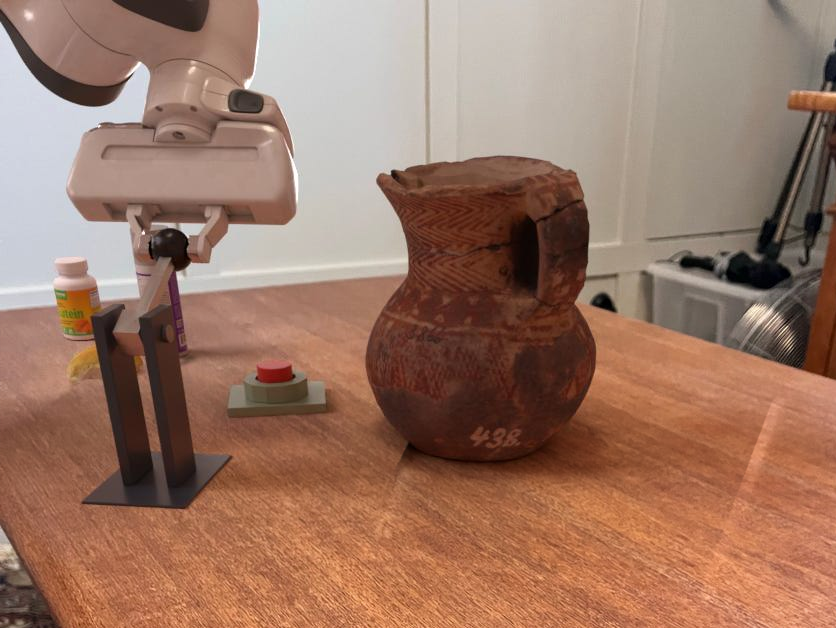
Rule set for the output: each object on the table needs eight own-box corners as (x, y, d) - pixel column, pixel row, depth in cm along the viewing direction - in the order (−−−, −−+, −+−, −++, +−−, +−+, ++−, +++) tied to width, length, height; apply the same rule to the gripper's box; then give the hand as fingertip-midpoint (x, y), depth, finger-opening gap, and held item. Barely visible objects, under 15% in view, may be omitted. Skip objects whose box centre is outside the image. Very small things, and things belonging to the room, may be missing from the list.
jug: (333, 461, 96) (310, 173, 83) (419, 396, 113) (411, 148, 100) (557, 492, 90) (570, 186, 77) (613, 418, 107) (631, 157, 94)
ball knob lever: (164, 254, 91) (151, 218, 88) (203, 255, 91) (191, 219, 88) (116, 361, 84) (100, 325, 81) (158, 362, 83) (144, 326, 80)
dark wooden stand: (141, 465, 95) (109, 292, 87) (234, 469, 94) (210, 295, 86) (84, 517, 85) (42, 327, 77) (187, 523, 84) (155, 330, 76)
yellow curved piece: (148, 366, 123) (143, 333, 121) (136, 389, 116) (129, 353, 114) (78, 368, 123) (71, 335, 120) (61, 391, 115) (53, 356, 113)
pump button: (257, 386, 104) (255, 369, 104) (258, 376, 108) (256, 360, 107) (293, 385, 105) (291, 368, 104) (293, 375, 108) (291, 358, 107)
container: (171, 346, 131) (152, 223, 123) (195, 352, 129) (177, 226, 121) (142, 355, 128) (120, 228, 120) (166, 361, 125) (145, 232, 118)
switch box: (229, 429, 104) (224, 391, 102) (233, 404, 111) (228, 368, 109) (327, 423, 105) (324, 386, 103) (325, 400, 112) (322, 364, 110)
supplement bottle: (56, 340, 134) (39, 263, 129) (76, 329, 139) (61, 255, 134) (94, 341, 133) (79, 264, 128) (113, 331, 138) (99, 256, 133)
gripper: (68, 97, 90) (40, 233, 86) (293, 98, 88) (272, 238, 84) (100, 148, 96) (74, 277, 93) (311, 150, 94) (292, 282, 90)
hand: (171, 258), depth 88 cm, fingers closed on ball knob lever, 3 cm apart
